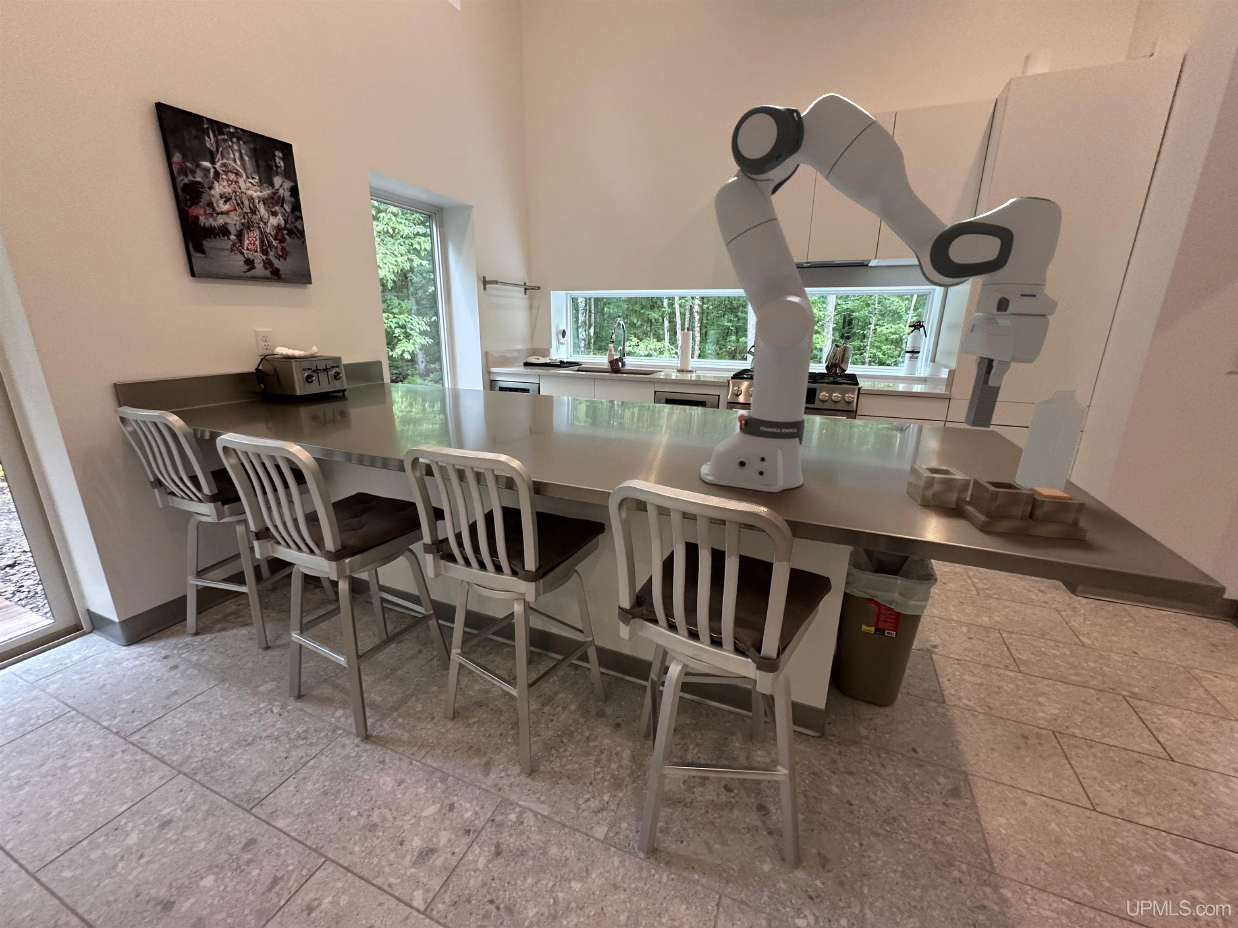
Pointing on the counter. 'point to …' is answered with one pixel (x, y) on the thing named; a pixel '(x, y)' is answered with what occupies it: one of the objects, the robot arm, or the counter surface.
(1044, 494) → the button
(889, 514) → the counter surface
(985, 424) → the steel peg
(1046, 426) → the milk
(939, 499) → the beige hollow block
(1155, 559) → the counter surface
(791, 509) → the counter surface
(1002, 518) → the socket base
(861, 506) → the counter surface
